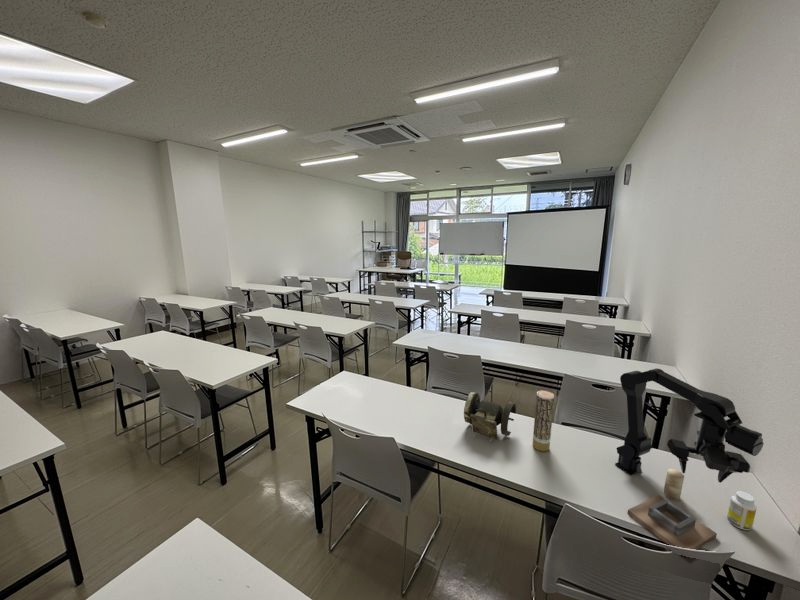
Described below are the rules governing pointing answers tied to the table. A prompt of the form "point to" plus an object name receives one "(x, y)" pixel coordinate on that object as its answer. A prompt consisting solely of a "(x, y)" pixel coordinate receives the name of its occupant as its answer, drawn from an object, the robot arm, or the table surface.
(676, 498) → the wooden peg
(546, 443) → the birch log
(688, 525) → the collar socket
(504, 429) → the bench grinder
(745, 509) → the supplement bottle
